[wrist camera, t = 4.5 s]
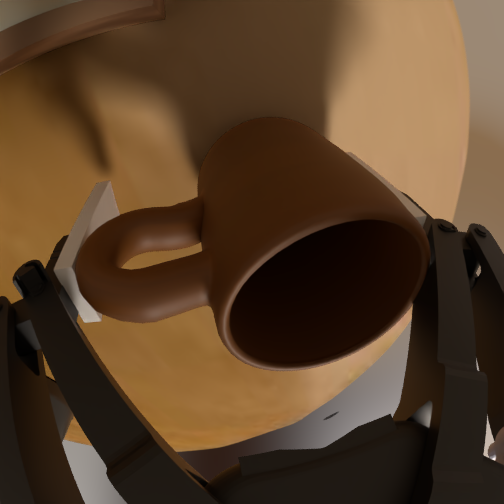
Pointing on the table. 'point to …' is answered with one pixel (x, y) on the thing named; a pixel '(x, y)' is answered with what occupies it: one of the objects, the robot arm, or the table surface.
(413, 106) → the table surface
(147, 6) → the base block
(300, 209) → the mug
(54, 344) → the robot arm
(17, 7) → the top block
